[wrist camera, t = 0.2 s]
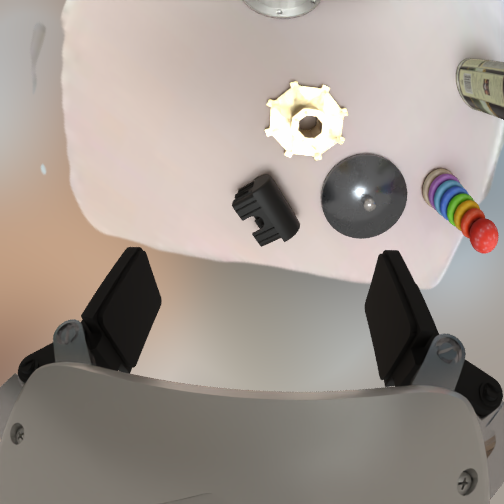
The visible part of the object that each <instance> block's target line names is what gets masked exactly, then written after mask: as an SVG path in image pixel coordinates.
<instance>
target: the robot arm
mask: <svg viewBox="0 0 504 504" xmlns="http://www.w3.org/2000/svg"><path fill="white" fill-rule="evenodd" d="M243 1H244V2H245V4H246V5H247V6H249V7H250V8H251V9H252V10H254V11H256V12H257V13H259V14H262V15H264V16H268V17H272V18H280V19H285V18H294V17H299V16H302V15H305V14H306V13H308V12H310V11H312V10H313V9H314V8H315V7H316V6H317V5H318V4H319V2H320V0H243ZM311 2H314V4H312V3H311ZM278 13H281V15H278ZM160 306H161V296H160V293H159V290H158V288H157V284H156V282H155V279H154V276H153V273H152V270H151V267H150V264H149V260H148V257H147V254H146V252H145V251H143V250H142V248H140V247H128V248H127V249H126V250H125V251H124V253H123V254H122V255H121V257H120V258H119V259H118V261H117V262H116V264H115V265H114V266H113V268H112V269H111V271H110V272H109V274H108V275H107V276H106V278H105V279H104V281H103V282H102V284H101V285H100V287H99V288H98V290H97V291H96V293H95V295H94V296H93V297H92V299H91V301H90V302H89V304H88V306H87V307H86V309H85V310H84V312H83V313H82V315H81V317H82V319H83V320H82V321H81V323H80V322H79V321H77V320H68V321H65V322H64V323H62V324H61V325H60V326H59V327H58V328H57V329H56V331H55V333H54V335H53V343H51V344H49V345H47V346H45V347H44V348H42V349H40V350H38V351H36V352H34V353H32V354H30V355H28V356H27V357H25V358H24V359H23V361H22V362H21V363H20V365H19V369H18V375H17V374H14V375H13V376H12V377H11V378H10V379H8V381H7V382H5V383H4V384H3V385H2V386H1V387H0V438H1V442H0V504H490V499H491V498H492V497H493V495H494V494H495V493H496V492H497V490H498V489H499V488H500V486H501V485H502V483H503V482H504V402H503V401H502V398H503V394H502V389H501V386H500V384H499V383H498V382H497V381H496V380H495V379H494V378H493V377H491V376H489V375H488V374H486V373H485V372H483V371H482V370H480V369H479V368H477V367H476V366H474V365H473V364H471V363H470V362H468V361H467V360H465V355H466V353H465V348H464V346H463V344H462V343H461V341H460V340H459V339H458V338H456V337H455V336H453V335H450V334H440V335H439V333H438V331H437V329H436V326H435V323H434V321H433V319H432V316H431V314H430V312H429V310H428V307H427V305H426V303H425V300H424V298H423V296H422V294H421V292H420V290H419V287H418V286H417V284H415V282H414V280H413V278H412V276H411V274H410V272H409V270H408V268H407V266H406V264H405V262H404V260H403V258H402V256H401V254H400V252H399V251H397V250H385V251H384V252H383V254H379V256H378V260H377V264H376V267H375V271H374V275H373V278H372V282H371V285H370V289H369V292H368V295H367V299H366V302H365V313H366V317H367V321H368V325H369V329H370V334H371V338H372V342H373V346H374V351H375V356H376V361H377V366H378V371H379V376H380V379H381V380H384V383H385V388H375V389H363V390H345V391H327V392H326V391H324V392H276V391H253V390H252V391H251V390H238V389H226V388H215V387H206V386H198V385H191V384H184V383H177V382H171V381H165V380H159V379H154V378H148V377H143V376H138V375H133V374H130V372H131V369H132V367H135V366H136V364H137V361H138V359H139V356H140V354H141V351H142V349H143V346H144V344H145V341H146V339H147V337H148V334H149V332H150V330H151V327H152V325H153V322H154V320H155V318H156V315H157V313H158V311H159V309H160ZM118 370H119V371H118ZM389 386H395V387H389Z"/></svg>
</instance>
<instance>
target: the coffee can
mask: <svg viewBox="0 0 504 504" xmlns="http://www.w3.org/2000/svg"><path fill="white" fill-rule="evenodd" d="M456 82H457V87H458V90H459V93H460V95H461V97H462V99H463V100H464V102H465V103H466V104H467V105H468V106H469V107H471V108H472V109H474V110H478V111H482V112H484V113H487V114H490V115H493V116H496V117H498V118H501V119H503V120H504V62H498V61H489V60H478V59H471V58H470V59H465V60H463V61H462V62H461V63H460V64H459V66H458V68H457V73H456Z"/></svg>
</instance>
